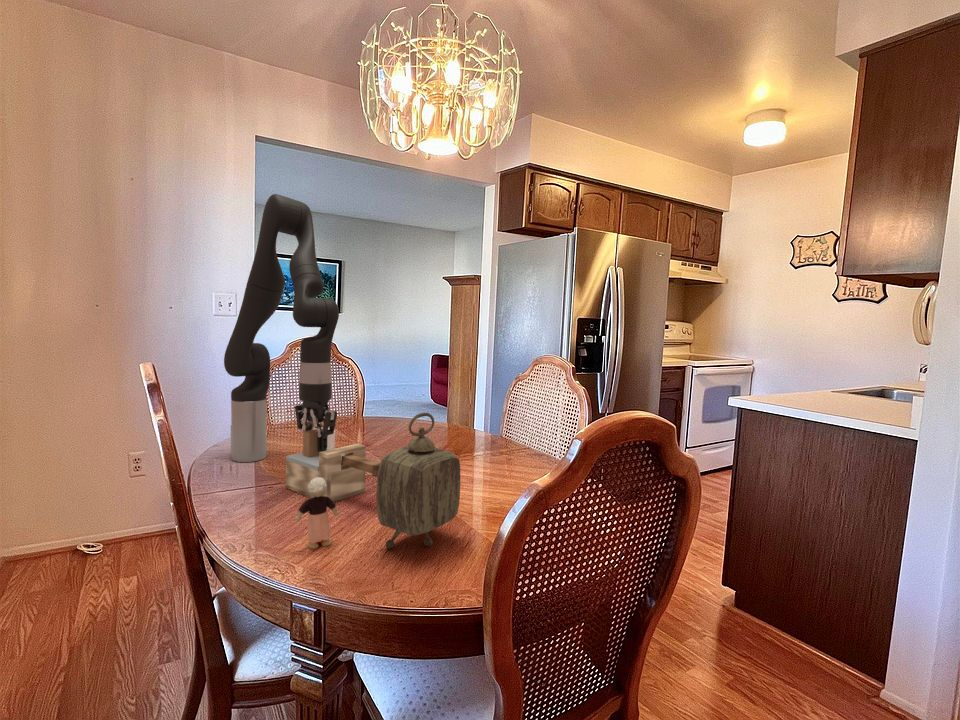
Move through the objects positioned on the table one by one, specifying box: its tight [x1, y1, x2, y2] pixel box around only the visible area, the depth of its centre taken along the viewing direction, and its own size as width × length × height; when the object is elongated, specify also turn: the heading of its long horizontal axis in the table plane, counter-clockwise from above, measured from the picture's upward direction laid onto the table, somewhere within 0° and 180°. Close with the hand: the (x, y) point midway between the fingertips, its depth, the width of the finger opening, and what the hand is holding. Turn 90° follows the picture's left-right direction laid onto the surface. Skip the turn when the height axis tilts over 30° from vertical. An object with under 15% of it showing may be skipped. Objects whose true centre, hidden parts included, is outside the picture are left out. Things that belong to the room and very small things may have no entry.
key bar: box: [342, 454, 380, 478], centre depth 115 cm, size 12×3×2 cm, turn 53°
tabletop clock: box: [375, 412, 461, 550], centre depth 96 cm, size 14×9×25 cm, turn 145°
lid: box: [285, 427, 345, 471], centre depth 124 cm, size 13×11×7 cm
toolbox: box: [285, 443, 367, 503], centre depth 123 cm, size 16×11×11 cm
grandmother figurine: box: [294, 477, 340, 549], centre depth 94 cm, size 8×4×13 cm, turn 131°
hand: (315, 449), depth 125 cm, fingers open, 5 cm apart
